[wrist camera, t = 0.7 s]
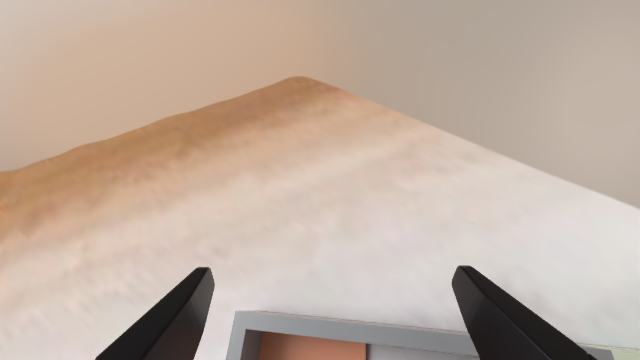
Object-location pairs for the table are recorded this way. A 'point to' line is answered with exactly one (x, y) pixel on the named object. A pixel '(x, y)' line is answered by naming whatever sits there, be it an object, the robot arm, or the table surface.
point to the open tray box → (351, 339)
